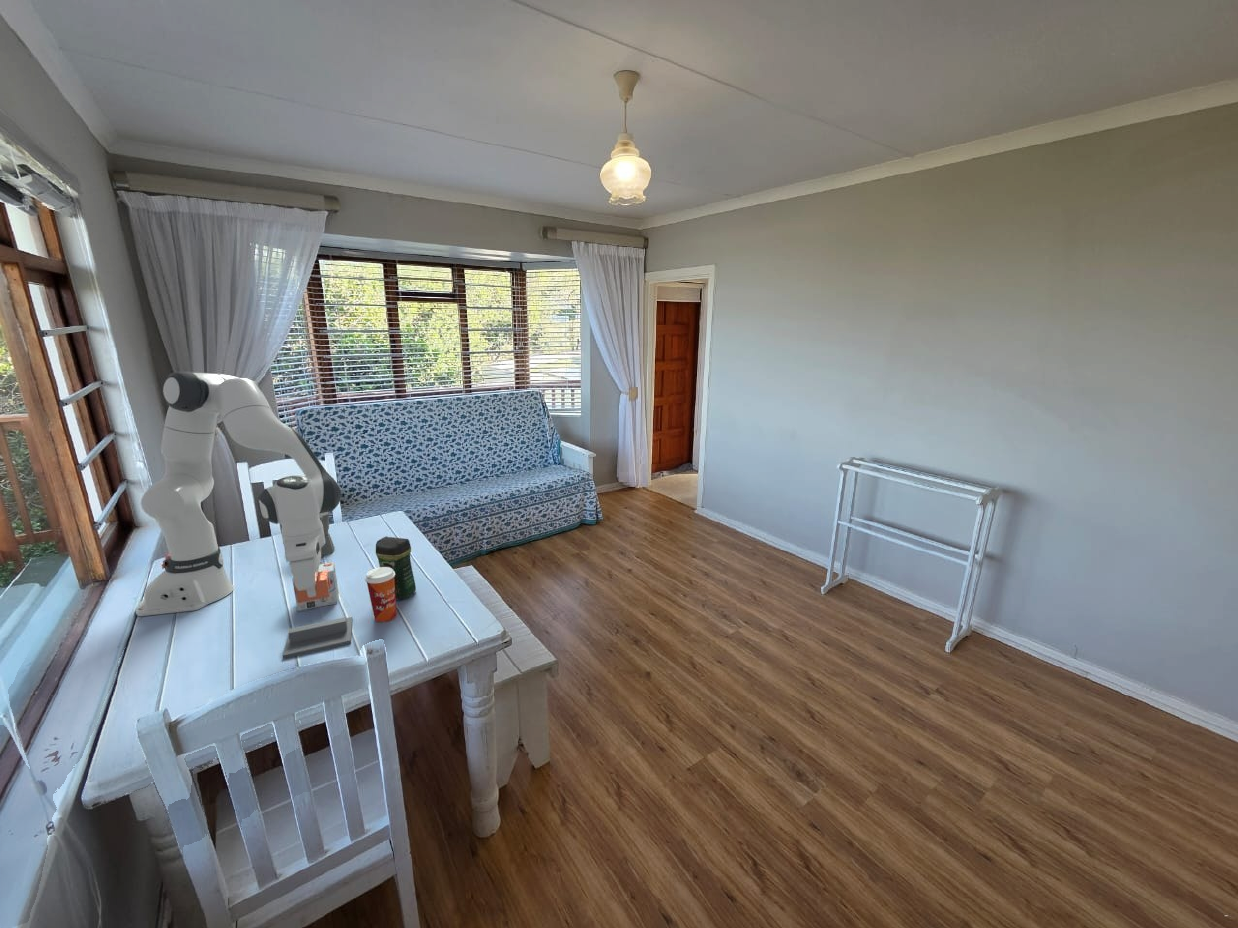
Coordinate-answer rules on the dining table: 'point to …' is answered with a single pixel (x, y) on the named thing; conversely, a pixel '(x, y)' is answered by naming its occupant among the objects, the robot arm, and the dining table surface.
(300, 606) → the light bulb box
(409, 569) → the coffee jar
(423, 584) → the dining table surface
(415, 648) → the dining table surface
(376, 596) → the paper cup
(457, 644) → the dining table surface
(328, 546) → the coffeepot
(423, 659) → the dining table surface
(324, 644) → the stand
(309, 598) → the block
